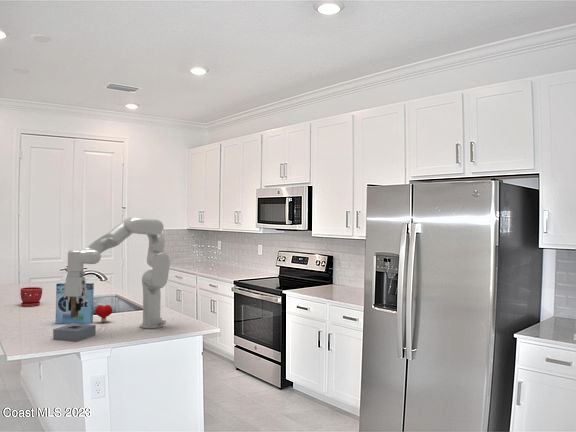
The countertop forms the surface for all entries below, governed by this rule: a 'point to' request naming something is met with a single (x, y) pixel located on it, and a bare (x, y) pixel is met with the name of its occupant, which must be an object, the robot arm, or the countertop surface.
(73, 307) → the peg
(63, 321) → the gum box
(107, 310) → the red piece
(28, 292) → the plant pot
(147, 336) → the countertop surface
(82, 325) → the socket block
